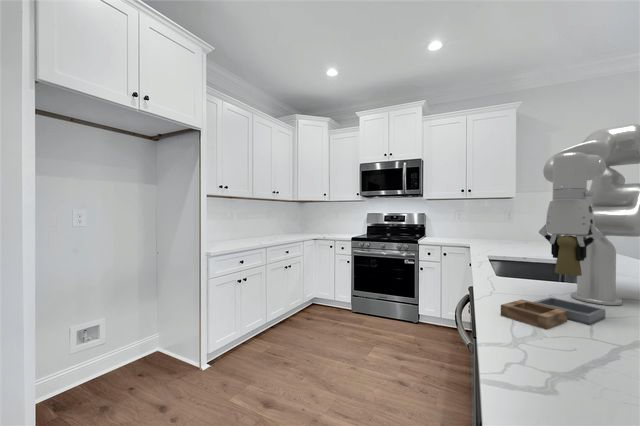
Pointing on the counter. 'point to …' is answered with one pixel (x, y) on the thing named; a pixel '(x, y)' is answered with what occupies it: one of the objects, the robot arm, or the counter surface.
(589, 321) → the tray
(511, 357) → the counter surface
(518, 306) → the socket block
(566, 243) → the cork
